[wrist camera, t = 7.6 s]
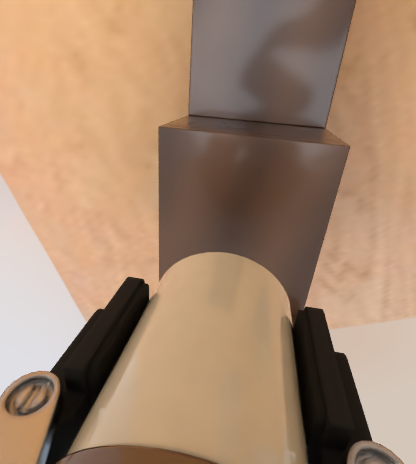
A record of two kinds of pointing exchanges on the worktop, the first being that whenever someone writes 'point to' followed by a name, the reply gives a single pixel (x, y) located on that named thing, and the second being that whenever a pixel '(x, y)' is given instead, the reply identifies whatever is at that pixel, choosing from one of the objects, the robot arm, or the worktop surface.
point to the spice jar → (202, 375)
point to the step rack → (256, 138)
